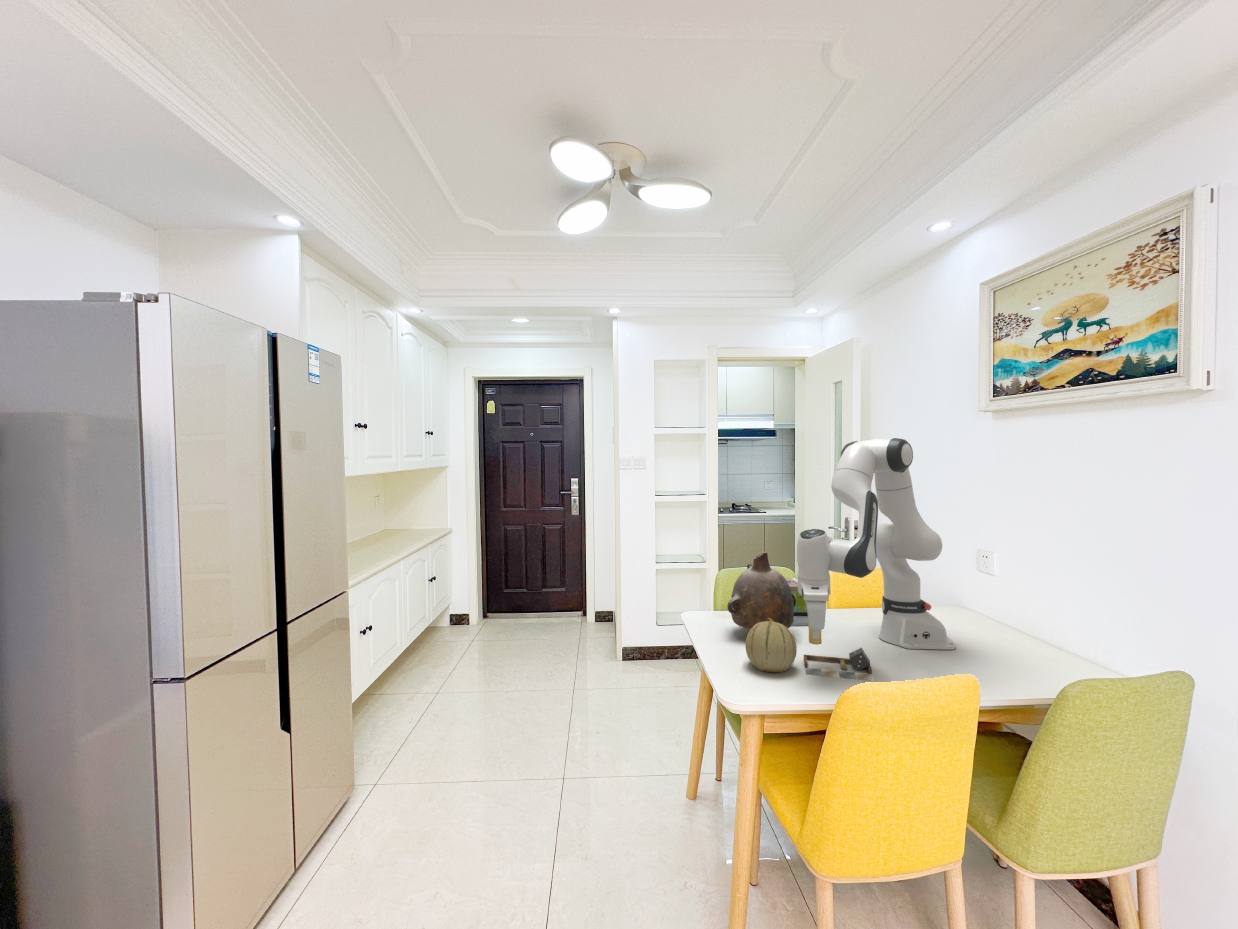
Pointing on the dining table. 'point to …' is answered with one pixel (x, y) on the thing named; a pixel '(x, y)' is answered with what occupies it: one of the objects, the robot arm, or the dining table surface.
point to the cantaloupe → (771, 646)
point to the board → (832, 672)
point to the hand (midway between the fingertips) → (815, 634)
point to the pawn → (814, 640)
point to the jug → (761, 596)
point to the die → (859, 659)
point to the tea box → (798, 604)
